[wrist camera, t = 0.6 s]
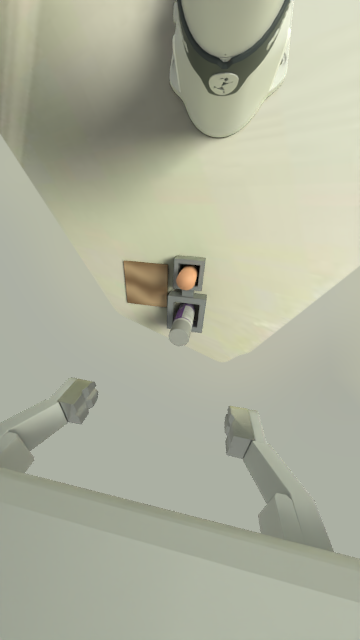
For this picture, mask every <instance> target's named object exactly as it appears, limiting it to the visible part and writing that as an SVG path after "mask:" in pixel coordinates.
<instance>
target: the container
mask: <svg viewBox="0 0 360 640" xmlns="http://www.w3.org/2000/svg"><path fill="white" fill-rule="evenodd" d="M194 314H195V306H194V305H193V304H189V303H182V304H181V305H180V307H179V309H178V312H177V314H176V317H175V319H174V322H173V325H172V327H171V330H170V333H169V340H170V341H171V342H172V343H173V344H174V345H177V346H183V345H186V344H187V343H188V341H189V337H190V333H191V329H192V324H193V319H194Z"/></svg>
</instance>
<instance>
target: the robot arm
mask: <svg viewBox="0 0 360 640" xmlns="http://www.w3.org/2000/svg"><path fill="white" fill-rule="evenodd" d="M293 5H294V0H177V2H175V3H174V8H173V21H174V23H176V30H175V34H174V35H173V52H172V59H171V66H170V73H169V79H170V85H171V87H172V89H173V90H174V92H175V93H176V94H177V95H178V96H179V97H180V98H181V99H182V100H183V102H184V104H185V107H186V109H187V112H188V114H189V116H190V118H191V120H192V122H193V123H194V125H195V126H196V127H197V128H198V129H199V130H200V131H201V132H203V133H204V134H206V135H209V136H212V137H226V136H229V135H232V134H234V133H236V132H237V131H239V130H240V129H242V128H243V127H244V126H245V125H246V124H247V123H248V122H249V121H250V120H251V119H252V117H253V116H254V115H255V113H256V112H257V110H258V109H259V107H260V106H261V104H262V103H263V101H264V100H265V99H266V98H267V97H268V96H269V95H271V94H272V93H273V92H274V91H276V90H277V89H278V88H279V87H280V86H281V84H282V83H283V81H284V79H285V76H286V73H287V66H288V56H289V46H290V36H291V26H292V15H293ZM280 63H281V65H280ZM95 387H96V384H95V382H92V381H87V380H82V379H77V378H69V379H68V380H67V381H66V382H65V383H64V384H63V385H62V386H61V387H60V388H59V389H58V390H57V391H56V392H55V393H54V394H53V395H52V396H51V397H50V398H49V400H44V401H42V402H40V403H38V404H36V405H34V406H32V407H30V408H28V409H26V410H24V411H22V412H20V413H18V414H16V415H15V416H13V417H11V418H9V419H7V420H5V421H3V422H1V423H0V640H360V559H359V558H355V557H351V556H347V555H343V554H339V553H335V552H334V551H333V548H332V545H331V543H330V540H329V538H328V535H327V533H326V530H325V527H324V524H323V522H322V519H321V517H320V514H319V511H318V509H317V506H316V503H315V501H314V500H313V498H312V497H311V496H310V494H309V493H308V492H307V491H306V489H305V488H304V487H303V486H302V484H301V483H300V482H299V480H298V479H297V478H296V477H295V476H294V474H293V473H292V472H291V470H290V469H289V468H288V467H287V465H286V464H285V463H284V461H283V460H282V459H281V458H280V457H279V455H278V454H277V453H276V451H275V450H274V449H273V448H272V446H271V445H270V444H267V443H266V439H265V435H264V431H263V428H262V424H261V420H260V416H259V413H258V411H256V410H249V409H246V408H240V407H233V406H229V408H228V414H226V417H225V433H226V435H227V438H226V453H227V455H229V456H233V457H237V458H241V459H243V461H244V463H245V465H246V467H247V468H248V470H249V472H250V474H251V476H252V478H253V480H254V481H255V483H256V485H257V487H258V489H259V490H260V492H261V494H262V496H263V498H264V500H265V502H266V503H267V505H266V506H265V507H264V509H263V510H262V511H261V512H260V513H259V515H258V518H259V524H260V531H261V533H257V532H253V531H249V530H245V529H241V528H237V527H233V526H230V525H226V524H222V523H218V522H214V521H210V520H206V519H202V518H198V517H194V516H190V515H186V514H182V513H179V512H175V511H171V510H166V509H163V508H159V507H155V506H151V505H147V504H143V503H139V502H135V501H132V500H128V499H123V498H120V497H116V496H112V495H108V494H104V493H100V492H96V491H92V490H88V489H85V488H81V487H77V486H73V485H69V484H65V483H61V482H57V481H53V480H49V479H45V478H42V477H38V476H33V475H29V474H26V473H25V472H26V470H27V469H28V468H29V466H30V465H31V464H32V462H33V461H34V457H33V455H32V454H31V453H30V451H31V450H32V449H34V448H35V447H36V446H38V445H39V444H40V443H42V442H43V441H44V440H46V439H47V438H48V437H50V436H51V435H52V434H54V433H55V432H56V431H58V430H59V429H60V428H62V427H63V426H64V425H65V424H67V423H68V422H71V423H76V424H82V423H83V421H84V420H85V418H86V417H87V415H88V413H89V409H90V408H92V407H93V406H94V404H95V403H96V401H97V398H98V391H97V390H96V389H95Z"/></svg>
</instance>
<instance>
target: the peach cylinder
mask: <svg viewBox="0 0 360 640" xmlns="http://www.w3.org/2000/svg"><path fill="white" fill-rule="evenodd" d="M197 274H198V270H197V268H196V267H195V266H194V265H191V264H188V265H185V266H184V267H183V269H182V270H181V272H180V273H179V274H178V276H177V278H176V283H177V285H178V287H179V288H180V289H182V290H190V289H192V288H193V286H194V285H195V281H196V278H197Z"/></svg>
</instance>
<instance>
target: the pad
mask: <svg viewBox="0 0 360 640" xmlns="http://www.w3.org/2000/svg"><path fill="white" fill-rule="evenodd" d="M124 271H125V281H126V292H127V302H128V303H135V304H143V305H151V306H160V307H167V290H168V265H166V264H156V263H145V262H134V261H124Z"/></svg>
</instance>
